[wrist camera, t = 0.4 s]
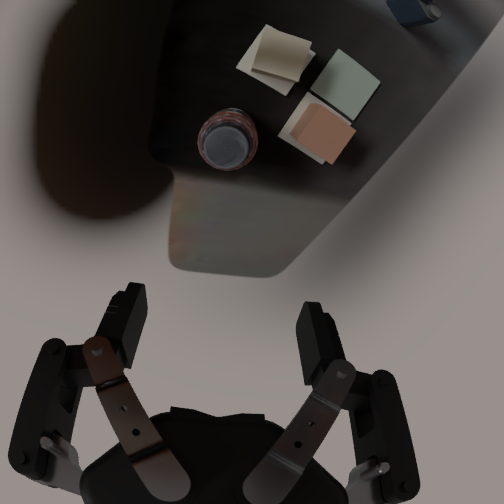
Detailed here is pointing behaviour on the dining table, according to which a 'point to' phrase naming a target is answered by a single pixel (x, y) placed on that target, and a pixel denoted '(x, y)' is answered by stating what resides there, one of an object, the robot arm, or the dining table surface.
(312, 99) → the tile
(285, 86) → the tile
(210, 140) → the supplement bottle
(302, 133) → the terracotta block
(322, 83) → the sage pad
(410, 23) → the vaping device
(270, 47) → the maple block
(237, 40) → the dining table surface
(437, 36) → the dining table surface
